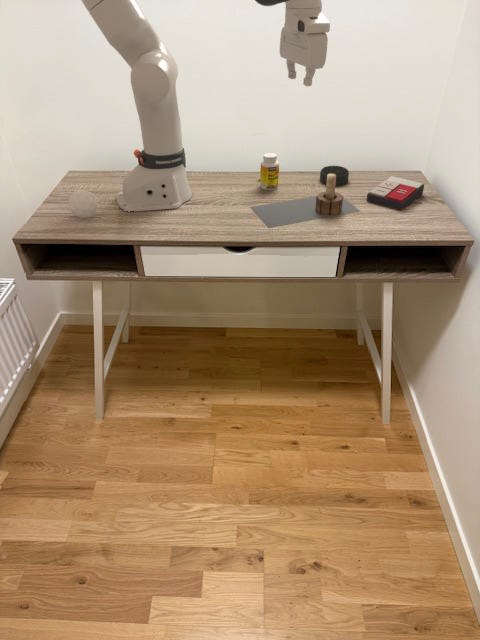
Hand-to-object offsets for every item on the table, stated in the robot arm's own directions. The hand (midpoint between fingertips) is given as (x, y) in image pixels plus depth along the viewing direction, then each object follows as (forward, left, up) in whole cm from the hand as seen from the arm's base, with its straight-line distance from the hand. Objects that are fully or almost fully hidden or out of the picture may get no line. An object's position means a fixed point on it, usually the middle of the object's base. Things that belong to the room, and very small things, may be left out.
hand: (299, 82), depth 128 cm
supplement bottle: (-5, +7, -31) cm, 32 cm away
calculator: (+26, -14, -32) cm, 44 cm away
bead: (+4, -15, -31) cm, 34 cm away
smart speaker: (+16, +4, -32) cm, 36 cm away
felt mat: (-2, -12, -31) cm, 33 cm away
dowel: (+4, -15, -31) cm, 34 cm away
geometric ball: (-61, +7, -31) cm, 69 cm away
